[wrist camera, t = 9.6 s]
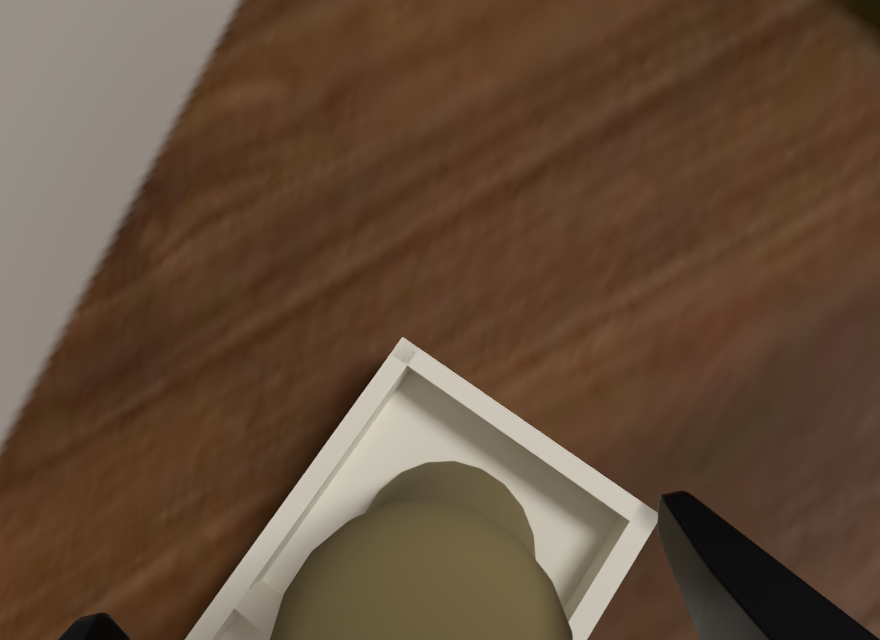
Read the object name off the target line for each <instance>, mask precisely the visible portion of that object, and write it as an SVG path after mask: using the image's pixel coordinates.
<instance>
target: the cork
mask: <svg viewBox="0 0 880 640" xmlns="http://www.w3.org/2000/svg"><path fill="white" fill-rule="evenodd" d="M270 640H573V635H572V630H571V628H570V625H569V623H568V620H567V617H566V615H565V612H564V610H563V607H562V605H561V602H560V600H559V597H558V595H557V592H556V590H555V587H554V584H553V582H552V581H551V579H550V578H549V576H548V575H547V573H546V572H545V571H544V570H543V568H542V567H541V566H540V565H539V563H538V562H537V561H536V556H535V544H534V534H533V532H532V529H531V527H530V524H529V522H528V519H527V516H526V514H525V511H524V509H523V507H522V505H521V504H520V503H519V502H518V500H517V499H516V498H515V497H514V495H513V494H512V493H511V492H510V490H509V489H508V488H507V487H506V485H505V484H503V483H502V482H501V481H499V480H498V479H496V478H495V477H493V476H492V475H490V474H489V473H487V472H486V471H484V470H483V469H481V468H478V467H474V466H471V465H467V464H463V463H460V462H456V461H442V462H426V463H424V464H421V465H419V466H416V467H414V468H411V469H408V470H406V471H403V472H401V473H400V474H399V475H397V476H396V477H395V478H394V479H393V480H391V481H390V482H389V483H388V484H386V485H385V486H384V487H383V488H382V489H380V490H379V492H378V494H377V495H376V497H375V498H374V500H373V501H372V503H371V504H370V506H369V507H368V509H367V511H366V512H365V514H362V515H360V516H357V517H355V518H353V519H351V520H349V521H348V522H347V523H345V524H344V525H343V526H342V527H340V528H339V529H338V530H337V531H336V532H334V533H333V534H332V535H331V536H330V537H328V538H327V539H326V540H325V541H324V542H322V543H321V544H320V545H319V546H317V547H316V548H315V549H314V550H313V551H311V553H310V554H309V556H308V557H307V559H306V560H305V562H304V563H303V565H302V567H301V568H300V570H299V571H298V573H297V574H296V576H295V577H294V579H293V580H292V582H291V583H290V585H289V586H288V588H287V589H286V591H285V592H284V595H283V598H282V601H281V605H280V608H279V611H278V614H277V618H276V621H275V624H274V628H273V631H272V634H271V638H270Z"/></svg>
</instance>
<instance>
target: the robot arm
mask: <svg viewBox="0 0 880 640" xmlns="http://www.w3.org/2000/svg"><path fill="white" fill-rule="evenodd" d="M657 528H658V534H659V538H660V541H661V544H662V546H663V549H664V551H665V554H666V556H667V559H668V561H669V564H670V566H671V569H672V571H673V574H674V576H675V579H676V581H677V584H678V586H679V589H680V591H681V594H682V596H683V599H684V601H685V604H686V606H687V609H688V612H689V614H690V617H691V619H692V622H693V624H694V626H695V629H696V631H697V634H698V636H699V638H700V640H880V639H878V638H877V637H876V636H875V635H873V634H872V633H871V632H869V631H868V630H867V629H865V628H864V627H863V626H862V625H860V624H859V623H858V622H856V621H855V620H854V619H852V618H851V617H850V616H849V615H847V614H846V613H845V612H843V611H842V610H841V609H839V608H838V607H837V606H836V605H834V604H833V603H832V602H830V601H829V600H828V599H826V598H825V597H824V596H823V595H821V594H820V593H819V592H817V591H816V590H815V589H813V588H812V587H811V586H810V585H808V584H807V583H806V582H804V581H803V580H802V579H800V578H799V577H798V576H797V575H795V574H794V573H793V572H791V571H790V570H789V569H787V568H786V567H785V566H784V565H782V564H781V563H780V562H778V561H777V560H776V559H774V558H773V557H772V556H771V555H769V554H768V553H767V552H765V551H764V550H763V549H761V548H760V547H759V546H758V545H756V544H755V543H754V542H752V541H751V540H750V539H748V538H747V537H746V536H745V535H743V534H742V533H741V532H739V531H738V530H737V529H735V528H734V527H733V526H732V525H730V524H729V523H728V522H726V521H725V520H724V519H722V518H721V517H720V516H719V515H717V514H716V513H715V512H713V511H712V510H711V509H709V508H708V507H707V506H706V505H704V504H703V503H702V502H700V501H699V500H698V499H696V498H695V497H694V496H693V495H691V494H690V493H688V492H686V491H677V492H672V493H668V494H663V495H661V496H660V498H659V502H658V524H657ZM58 640H131V639H130V637H129V635H128V634H127V633H126V632H125V631H124V630H123V629H122V628H121V627H120V626H119V625H118V623H117V622H116V621H115V620H114V619H113V618H112V617H111V616H110V615H109V614H107V613H98V614H94V615H89V616H84V617H82V618H79V619H78V620H76V621H75V622H74V623H73V624H72V625H71V626H70V627H69V628H68V629H67V630H66V632H65V633H64V634H63V635H62V636H61V637H60V638H59V639H58Z"/></svg>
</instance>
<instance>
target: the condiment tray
mask: <svg viewBox="0 0 880 640" xmlns="http://www.w3.org/2000/svg"><path fill="white" fill-rule="evenodd" d="M442 461H456V462H460V463H463V464H467V465H471V466H474V467H478V468H481V469H483V470H484V471H486V472H487V473H489V474H490V475H492V476H493V477H495V478H496V479H498V480H499V481H501V482H502V483H503V484H505V485H506V487H507V488H508V489H509V490H510V492H511V493H512V494H513V495H514V497H515V498H516V499H517V500H518V502H519V503H520V504H521V505H522V507H523V509H524V511H525V514H526V516H527V519H528V522H529V524H530V527H531V529H532V532H533V534H534V544H535V556H536V561H537V562H538V563H539V565H540V566H541V567H542V568H543V570H544V571H545V572H546V573H547V575H548V576H549V578H550V579H551V581H552V582H553V584H554V587H555V590H556V592H557V595H558V597H559V600H560V602H561V605H562V607H563V610H564V612H565V615H566V617H567V620H568V623H569V625H570V628H571V630H572V635H573V640H587V638H588V637H589V635H590V633H591V632H592V630H593V628H594V627H595V625H596V623H597V622H598V620H599V618H600V617H601V615H602V613H603V612H604V610H605V608H606V607H607V605H608V603H609V602H610V600H611V599H612V597H613V595H614V594H615V592H616V590H617V589H618V587H619V585H620V584H621V582H622V580H623V579H624V577H625V575H626V574H627V572H628V570H629V569H630V567H631V565H632V564H633V562H634V560H635V559H636V557H637V555H638V554H639V552H640V550H641V549H642V547H643V545H644V544H645V542H646V540H647V539H648V537H649V535H650V534H651V532H652V530H653V529H654V527H655V525H656V524H657V522H658V513H657V512H655V511H654V510H653V509H651V508H650V507H648V506H647V505H645V504H644V503H642V502H641V501H639V500H638V499H637V498H635V497H634V496H632V495H631V494H629V493H628V492H626V491H625V490H624V489H622V488H621V487H619V486H618V485H616V484H615V483H613V482H612V481H611V480H609V479H608V478H606V477H605V476H603V475H602V474H600V473H599V472H597V471H596V470H595V469H593V468H592V467H590V466H589V465H587V464H586V463H584V462H583V461H582V460H580V459H579V458H577V457H576V456H574V455H573V454H571V453H570V452H568V451H567V450H566V449H564V448H563V447H561V446H560V445H558V444H557V443H555V442H554V441H553V440H551V439H550V438H548V437H547V436H545V435H544V434H542V433H541V432H540V431H538V430H537V429H535V428H534V427H532V426H531V425H529V424H528V423H526V422H525V421H524V420H522V419H521V418H519V417H518V416H516V415H515V414H513V413H512V412H511V411H509V410H508V409H506V408H505V407H503V406H502V405H500V404H499V403H497V402H496V401H495V400H493V399H492V398H490V397H489V396H487V395H486V394H484V393H483V392H482V391H480V390H479V389H477V388H476V387H474V386H473V385H471V384H470V383H468V382H467V381H466V380H464V379H463V378H461V377H460V376H458V375H457V374H455V373H454V372H453V371H451V370H450V369H448V368H447V367H445V366H444V365H442V364H441V363H440V362H438V361H437V360H435V359H434V358H432V357H431V356H429V355H428V354H426V353H425V352H424V351H422V350H421V349H419V348H418V347H416V346H415V345H413V344H412V343H411V342H409V341H408V340H406V339H405V338H403V337H402V338H401V340H400V341H399V343H398V344H397V345H396V347H395V348H394V350H393V351H392V352H391V354H390V355H389V356H388V358H387V359H386V361H385V362H384V363H383V365H382V366H381V368H380V369H379V370H378V372H377V373H376V375H375V376H374V377H373V379H372V380H371V382H370V383H369V384H368V386H367V387H366V388H365V390H364V391H363V393H362V394H361V395H360V397H359V398H358V400H357V401H356V402H355V404H354V405H353V407H352V408H351V409H350V411H349V412H348V413H347V415H346V416H345V418H344V419H343V420H342V422H341V423H340V425H339V426H338V427H337V429H336V430H335V432H334V433H333V434H332V436H331V437H330V438H329V440H328V441H327V443H326V444H325V445H324V447H323V448H322V450H321V451H320V452H319V454H318V455H317V457H316V458H315V459H314V461H313V462H312V463H311V465H310V466H309V468H308V469H307V470H306V472H305V473H304V475H303V476H302V477H301V479H300V480H299V482H298V483H297V484H296V486H295V487H294V488H293V490H292V491H291V493H290V494H289V495H288V497H287V498H286V500H285V501H284V502H283V504H282V505H281V507H280V508H279V509H278V511H277V512H276V514H275V515H274V516H273V518H272V519H271V520H270V522H269V523H268V525H267V526H266V527H265V529H264V530H263V532H262V533H261V534H260V536H259V537H258V539H257V540H256V541H255V543H254V544H253V545H252V547H251V548H250V550H249V551H248V552H247V554H246V555H245V557H244V558H243V559H242V561H241V562H240V564H239V565H238V566H237V568H236V569H235V570H234V572H233V573H232V575H231V576H230V577H229V579H228V580H227V582H226V583H225V584H224V586H223V587H222V589H221V590H220V591H219V593H218V594H217V595H216V597H215V598H214V600H213V601H212V602H211V604H210V605H209V607H208V608H207V609H206V611H205V612H204V614H203V615H202V616H201V618H200V619H199V620H198V622H197V623H196V625H195V626H194V627H193V629H192V630H191V632H190V633H189V634H188V636H187V637H186V639H185V640H270V638H271V634H272V631H273V628H274V624H275V621H276V618H277V614H278V611H279V608H280V605H281V601H282V598H283V595H284V592H285V591H286V589H287V588H288V586H289V585H290V583H291V582H292V580H293V579H294V577H295V576H296V574H297V573H298V571H299V570H300V568H301V567H302V565H303V563H304V562H305V560H306V559H307V557H308V556H309V554H310V553H311V551H313V550H314V549H315V548H316V547H317V546H319V545H320V544H321V543H322V542H324V541H325V540H326V539H327V538H328V537H330V536H331V535H332V534H333V533H334V532H336V531H337V530H338V529H339V528H340V527H342V526H343V525H344V524H345V523H347V522H348V521H349V520H351V519H353V518H355V517H357V516H360V515H362V514H365V512H366V511H367V509H368V507H369V506H370V504H371V503H372V501H373V500H374V498H375V497H376V495H377V494H378V492H379V490H380V489H382V488H383V487H384V486H385V485H386V484H388V483H389V482H390V481H391V480H393V479H394V478H395V477H396V476H397V475H399V474H400V473H401V472H403V471H406V470H408V469H411V468H414V467H416V466H419V465H421V464H424V463H426V462H442Z"/></svg>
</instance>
